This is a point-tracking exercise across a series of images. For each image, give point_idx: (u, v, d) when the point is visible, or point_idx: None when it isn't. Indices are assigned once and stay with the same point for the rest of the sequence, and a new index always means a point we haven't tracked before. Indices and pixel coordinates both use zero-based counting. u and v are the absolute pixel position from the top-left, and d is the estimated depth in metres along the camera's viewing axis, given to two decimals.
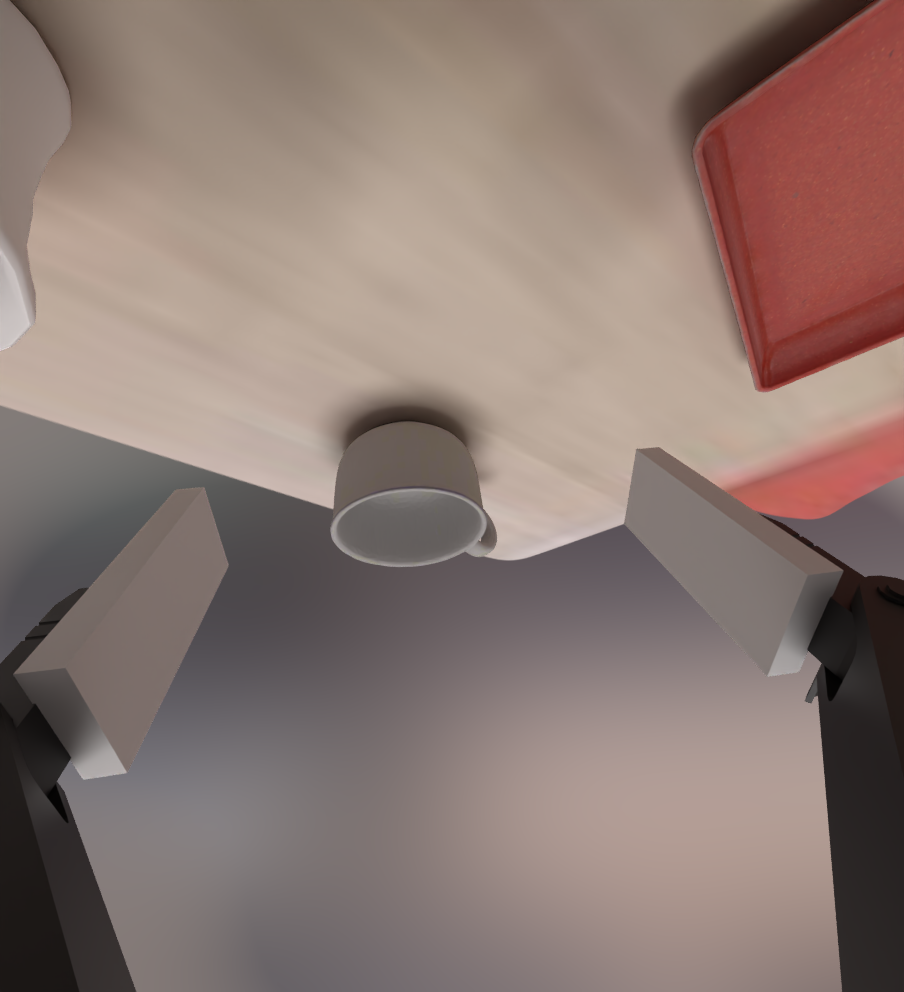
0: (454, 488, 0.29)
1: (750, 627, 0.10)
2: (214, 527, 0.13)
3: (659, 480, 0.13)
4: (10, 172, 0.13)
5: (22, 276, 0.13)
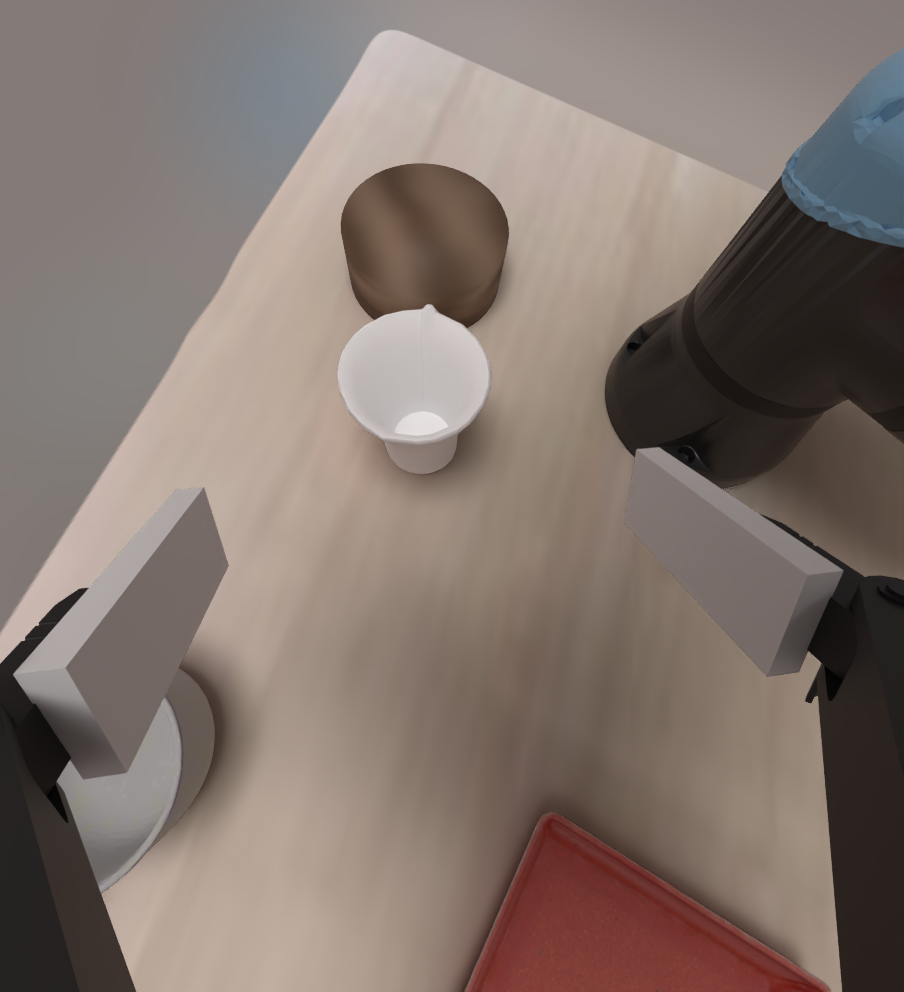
0: (175, 800, 0.22)
1: (750, 627, 0.10)
2: (214, 527, 0.13)
3: (660, 480, 0.13)
4: (428, 448, 0.29)
5: (412, 443, 0.25)
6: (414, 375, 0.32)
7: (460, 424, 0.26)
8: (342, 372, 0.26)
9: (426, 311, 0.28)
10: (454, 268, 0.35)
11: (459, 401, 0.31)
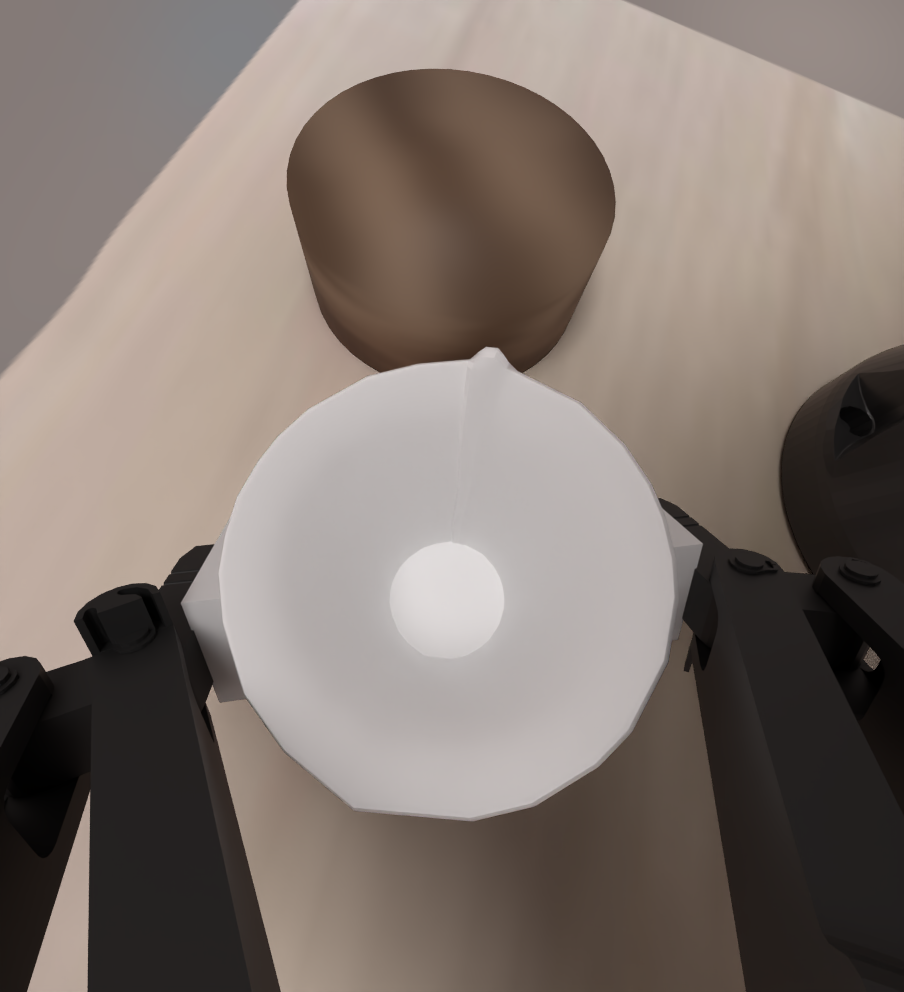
0: None
1: None
2: None
3: None
4: None
5: (456, 818, 0.08)
6: (438, 497, 0.14)
7: (605, 736, 0.08)
8: (237, 556, 0.09)
9: (484, 367, 0.10)
10: (514, 262, 0.17)
11: (546, 567, 0.13)
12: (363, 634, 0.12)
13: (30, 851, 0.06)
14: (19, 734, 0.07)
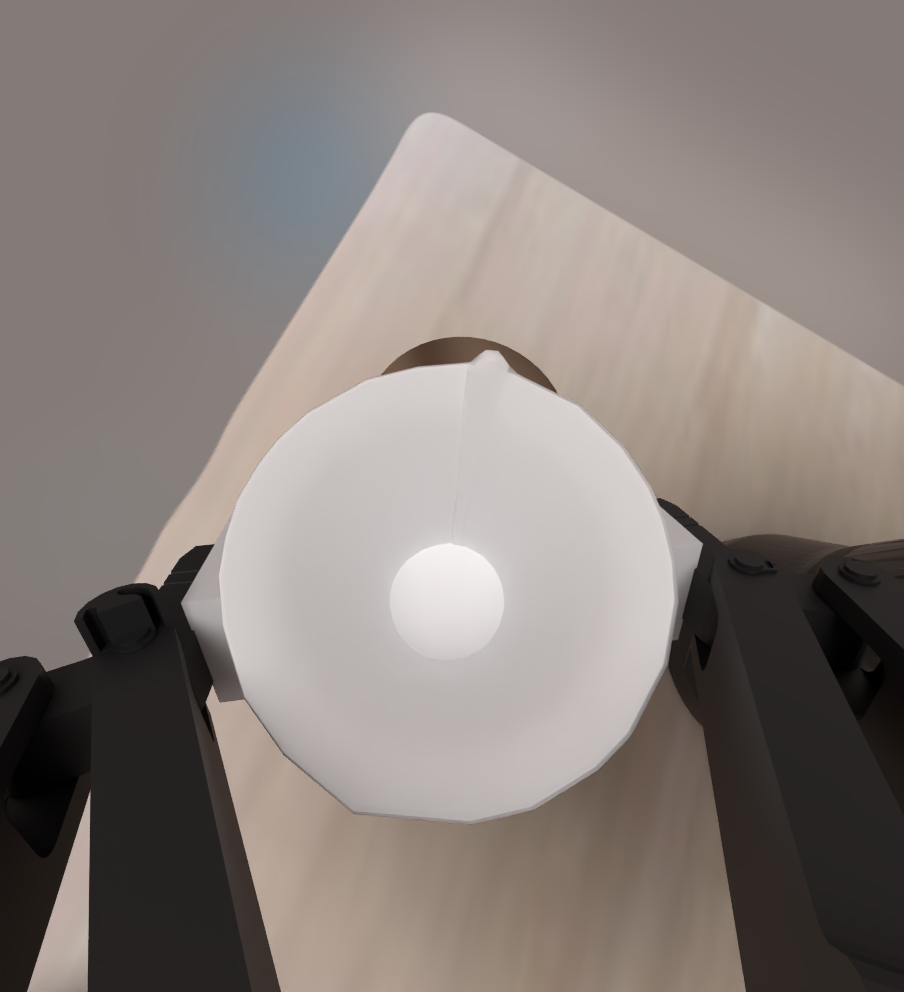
0: None
1: None
2: None
3: None
4: None
5: (455, 822, 0.08)
6: (439, 499, 0.14)
7: (604, 740, 0.08)
8: (237, 559, 0.09)
9: (484, 370, 0.10)
10: None
11: (546, 569, 0.13)
12: (363, 636, 0.12)
13: (31, 851, 0.06)
14: (20, 734, 0.07)
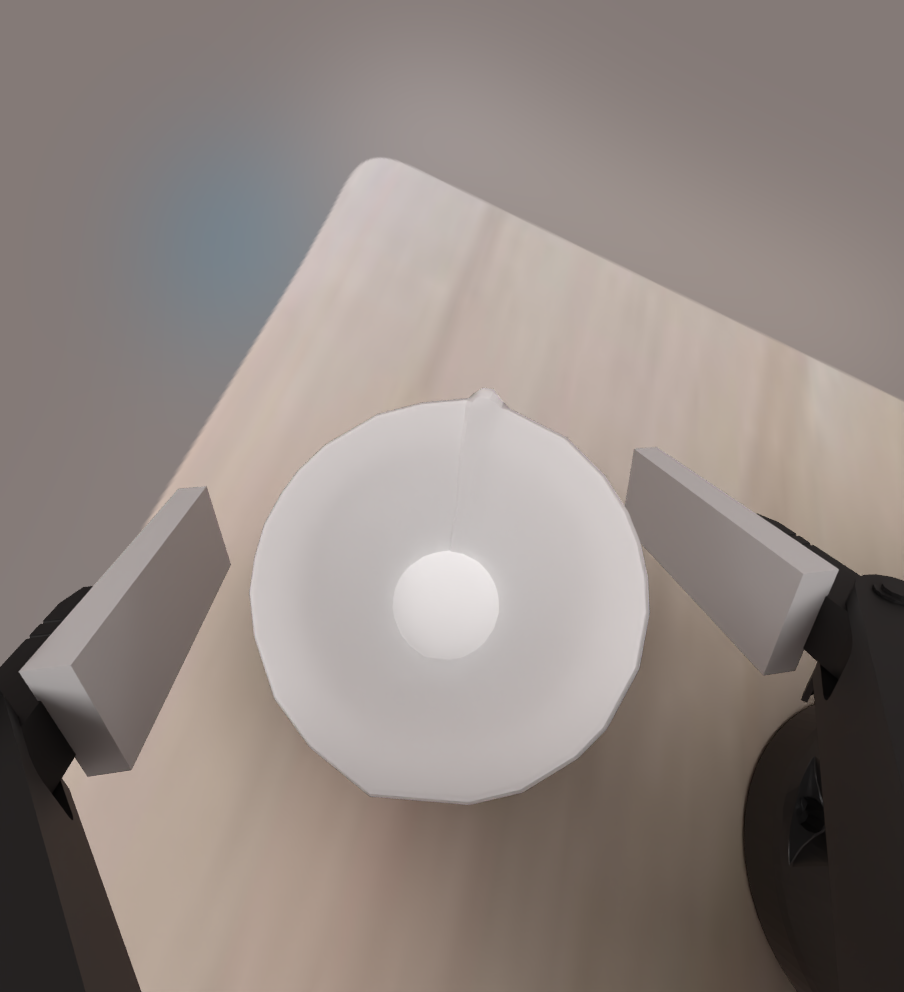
0: None
1: (746, 626, 0.10)
2: (216, 526, 0.13)
3: (657, 479, 0.13)
4: None
5: (456, 803, 0.09)
6: (438, 514, 0.15)
7: (583, 733, 0.09)
8: (265, 577, 0.10)
9: (481, 406, 0.11)
10: None
11: (536, 579, 0.14)
12: (371, 640, 0.14)
13: None
14: None
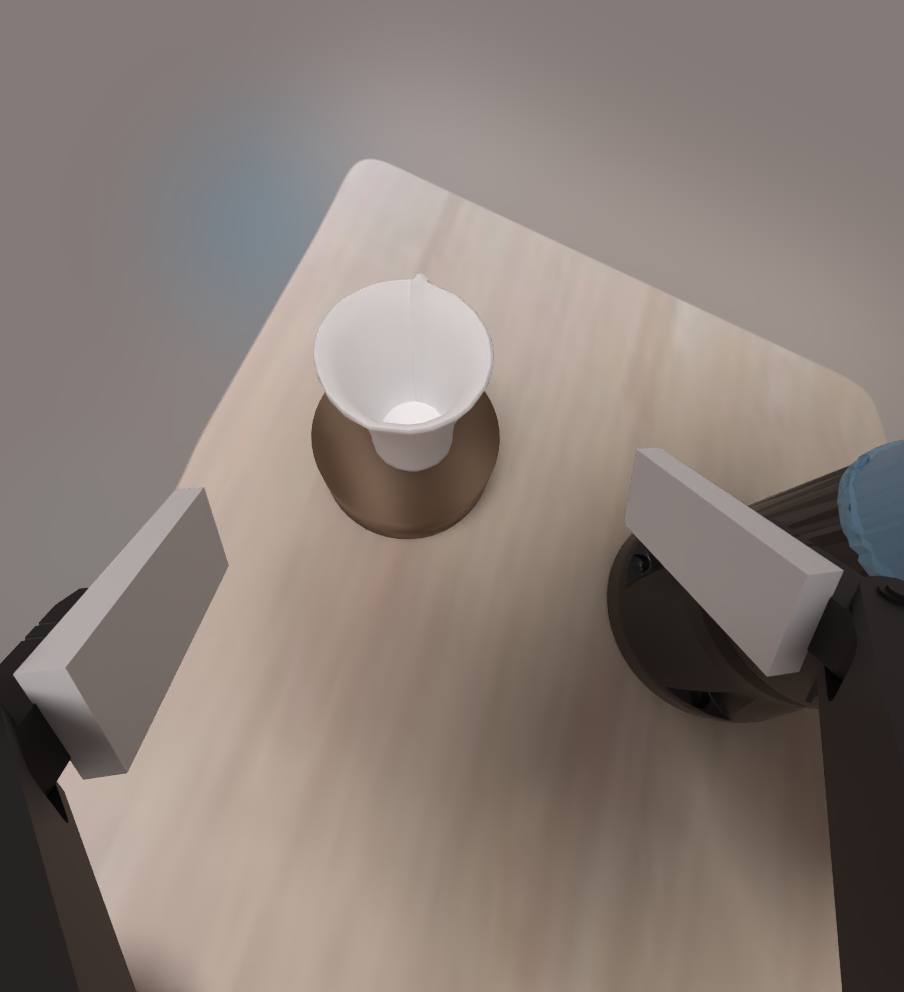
0: None
1: (750, 627, 0.10)
2: (214, 527, 0.13)
3: (659, 480, 0.13)
4: (422, 440, 0.25)
5: (403, 432, 0.21)
6: (404, 358, 0.28)
7: (459, 410, 0.22)
8: (319, 351, 0.23)
9: (417, 281, 0.24)
10: (439, 486, 0.31)
11: (455, 387, 0.27)
12: None
13: None
14: None
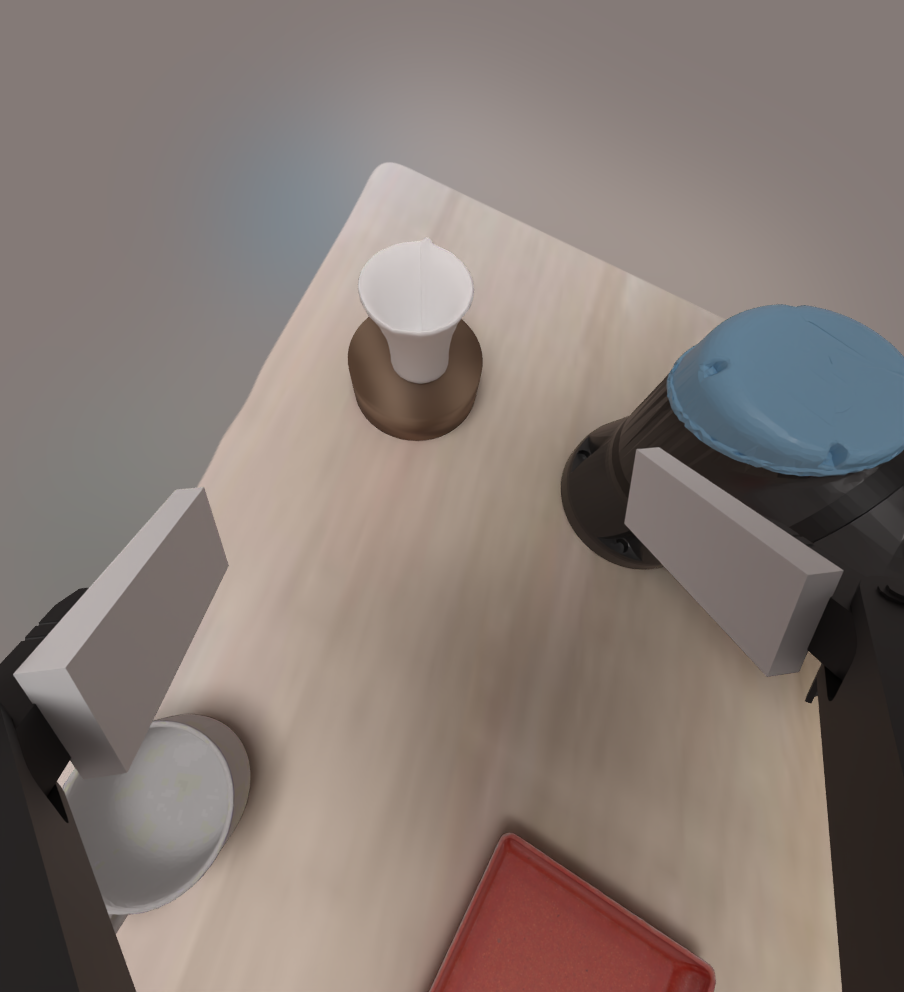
0: (229, 829, 0.30)
1: (750, 627, 0.10)
2: (214, 527, 0.13)
3: (659, 479, 0.13)
4: (426, 348, 0.37)
5: (415, 334, 0.34)
6: (415, 298, 0.40)
7: (450, 322, 0.35)
8: (361, 284, 0.35)
9: (425, 242, 0.36)
10: (438, 394, 0.43)
11: (450, 317, 0.39)
12: None
13: None
14: None
